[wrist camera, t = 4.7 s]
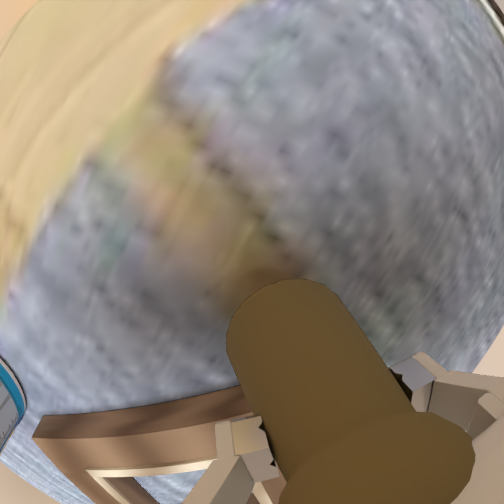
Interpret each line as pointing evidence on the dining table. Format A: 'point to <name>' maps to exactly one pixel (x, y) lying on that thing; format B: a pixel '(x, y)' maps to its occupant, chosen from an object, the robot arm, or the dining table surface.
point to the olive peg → (338, 406)
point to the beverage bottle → (9, 404)
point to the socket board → (144, 445)
